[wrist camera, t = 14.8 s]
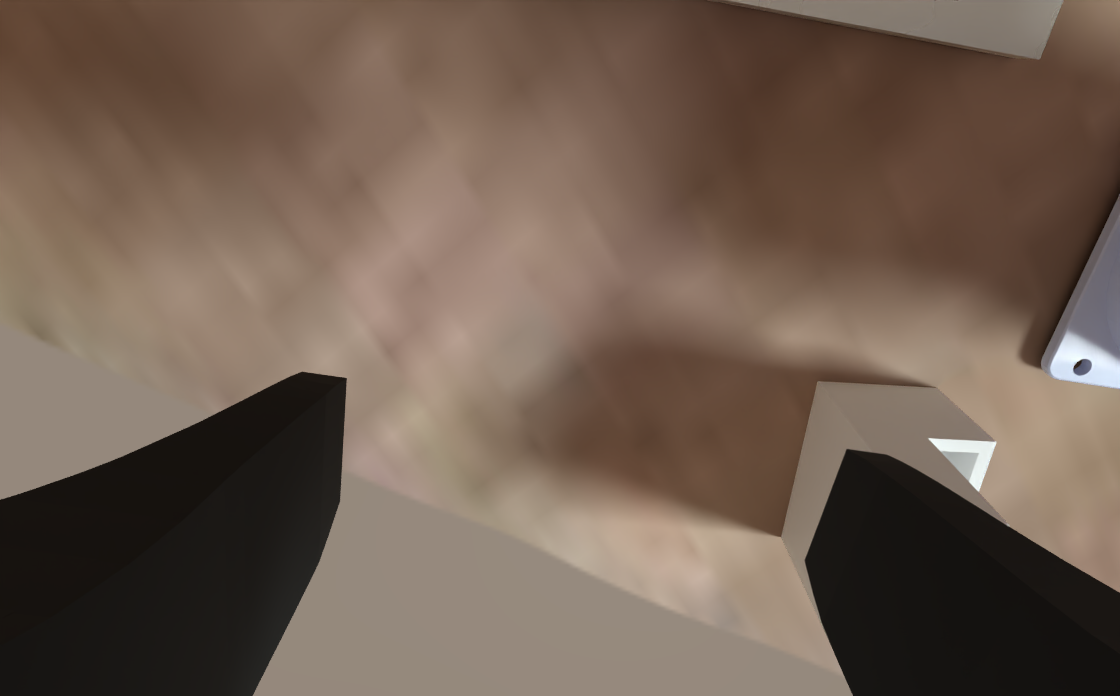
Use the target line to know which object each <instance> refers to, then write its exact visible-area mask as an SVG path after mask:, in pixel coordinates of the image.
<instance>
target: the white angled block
mask: <svg viewBox="0 0 1120 696" xmlns="http://www.w3.org/2000/svg"><path fill="white" fill-rule="evenodd" d="M995 445H996V441H995V440H994V439H993V438H992V437H991V436H990V435H988V434H987V433H986V432H985V431H984V430H983V429H982V428H981V427H980V426H979V425H977V424H976V423H975V422H974V421H973V420H972V419H971V418H970V417H969V416H968V415H966V414H965V413H964V412H963V411H962V410H961V409H960V408H959V407H958V406H957V405H955V404H954V403H953V402H952V401H951V400H950V399H949V398H948V397H947V396H946V395H944V394H943V393H942V392H941V391H940V390H939V389H938V388H931V387H913V386H896V385H878V384H860V383H842V382H824V381H818V382H817V386H816V390H815V394H814V399H813V403H812V407H811V412H810V416H809V420H808V424H807V429H806V433H805V437H804V441H803V446H802V450H801V454H800V459H799V463H798V467H797V471H796V476H795V480H794V484H793V489H792V493H791V497H790V501H789V506H788V510H787V514H786V518H785V523H784V527H783V531H782V536H781V538H782V540H783V543H784V545H785V547H786V549H787V551H788V553H789V556H790V558H791V560H792V562H793V564H794V566H795V569H796V571H797V573H798V575H799V577H800V579H801V582H802V584H803V586H804V588H805V590H806V592H807V595H808V597H809V599H810V601H811V603H812V605H813V608H814V610H815V612H816V614H817V616H818V618H819V621H820V623H821V625H822V622H821V619H820V616H819V612H818V609H817V606H816V602H815V599H814V596H813V592H812V588H811V584H810V580H809V576H808V572H807V569H806V565H805V561H804V560H805V558H806V555H807V553H808V550H809V547H810V545H811V542H812V539H813V537H814V534H815V531H816V529H817V526H818V523H819V521H820V518H821V515H822V513H823V510H824V507H825V505H826V502H827V499H828V497H829V494H830V491H831V489H832V486H833V484H834V481H835V478H836V476H837V473H838V470H839V468H840V465H841V462H842V460H843V457H844V454H845V452H846V449H851V450H859V451H866V452H873V453H880V454H887V455H889V456H891V457H893V458H896V459H898V460H900V461H902V462H904V463H906V464H908V465H909V466H911V467H913V468H915V469H917V470H918V471H920V472H922V473H924V474H925V475H927V476H929V477H930V478H932V479H934V480H935V481H937V482H939V483H940V484H942V485H944V486H945V487H947V488H949V489H950V490H952V491H953V492H955V493H956V494H958V495H960V496H961V497H963V498H964V499H966V500H968V501H969V502H971V503H972V504H974V505H976V506H977V507H979V508H980V509H982V510H983V511H985V512H987V513H988V514H990V515H991V516H993V517H995V518H996V519H998V520H999V521H1001V522H1002V523H1004V524H1006V525H1007V526H1009V524H1008V523H1007V522H1006V521H1005V520H1004V519H1003V518H1002V516H1001V515H1000V514H999V513H998V512H997V511H996V510H995V509H994V508H993V507H992V506H991V505H990V504H989V503H988V502H987V500H986V499H985V498H984V497H983V496H982V495H981V494H980V493H979V490H980V487H981V484H982V481H983V478H984V476H985V473H986V470H987V467H988V464H989V462H990V459H991V456H992V453H993V450H994V448H995ZM822 627H823V625H822ZM823 629H824V627H823ZM824 632H825V630H824ZM825 634H826V632H825ZM826 636H827V635H826ZM827 638H828V637H827ZM828 640H829V639H828ZM830 645H831V644H830ZM831 647H832V646H831Z"/></svg>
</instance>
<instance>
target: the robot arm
mask: <svg viewBox="0 0 1120 696" xmlns="http://www.w3.org/2000/svg"><path fill="white" fill-rule="evenodd" d="M1082 359H1083V360H1082ZM1080 360H1082V363H1081V365H1080V366H1079V367H1077V368H1076V369H1073V367H1074V365H1075V364H1076V363H1077V362H1078V361H1080ZM1041 367H1042V370H1043V371H1044V372H1045V373H1046V374H1048V375H1049V376H1051V377H1052V378H1055V379H1057V380H1064V381H1070V382H1077V383H1083V384H1090V385H1097V386H1103V387H1110V388H1116V389H1120V195H1119V197H1118V199H1117V201H1116V203H1115V205H1114V207H1113V209H1112V212H1111V214H1110V216H1109V218H1108V220H1107V222H1106V224H1105V226H1104V228H1103V231H1102V233H1101V235H1100V237H1099V239H1098V241H1097V243H1096V245H1095V247H1094V250H1093V252H1092V254H1091V256H1090V258H1089V260H1088V262H1087V264H1086V266H1085V269H1084V271H1083V273H1082V275H1081V277H1080V279H1079V281H1078V283H1077V285H1076V287H1075V290H1074V292H1073V294H1072V296H1071V298H1070V300H1069V302H1068V304H1067V306H1066V309H1065V311H1064V313H1063V315H1062V317H1061V319H1060V321H1059V323H1058V325H1057V328H1056V330H1055V332H1054V334H1053V336H1052V338H1051V340H1050V342H1049V344H1048V346H1047V349H1046V351H1045V353H1044V355H1043V357H1042V361H1041ZM346 381H347V378H342V377H335V376H328V375H321V374H314V373H307V372H300V373H298V374H295V375H293V376H290V377H288V378H286V379H284V380H282V381H280V382H278V383H276V384H274V385H272V386H270V387H268V388H266V389H264V390H262V391H260V392H258V393H256V394H254V395H252V396H250V397H248V398H246V399H244V400H243V401H241V402H239V403H237V404H235V405H233V406H231V407H229V408H227V409H225V410H223V411H221V412H219V413H217V414H215V415H213V416H211V417H209V418H207V419H205V420H203V421H201V422H199V423H196V424H194V425H192V426H190V427H188V428H186V429H183V430H181V431H179V432H177V433H174V434H172V435H170V436H168V437H165V438H163V439H161V440H159V441H156V442H154V443H152V444H150V445H148V446H145V447H143V448H141V449H138V450H136V451H134V452H132V453H129V454H127V455H125V456H123V457H120V458H118V459H115V460H113V461H110V462H108V463H105V464H103V465H100V466H97V467H95V468H92V469H89V470H87V471H84V472H81V473H79V474H76V475H73V476H70V477H67V478H65V479H62V480H59V481H56V482H53V483H50V484H47V485H45V486H42V487H39V488H36V489H33V490H30V491H27V492H24V493H21V494H18V495H15V496H11V497H8V498H5V499H1V500H0V696H253V694H254V692H255V690H256V688H257V686H258V684H259V682H260V680H261V678H262V676H263V674H264V672H265V670H266V668H267V666H268V664H269V661H270V660H271V658H272V656H273V654H274V652H275V650H276V648H277V646H278V644H279V642H280V640H281V638H282V636H283V634H284V632H285V630H286V628H287V626H288V624H289V622H290V620H291V618H292V616H293V614H294V612H295V610H296V608H297V606H298V604H299V602H300V600H301V598H302V596H303V594H304V592H305V590H306V588H307V586H308V584H309V582H310V580H311V578H312V576H313V574H314V572H315V569H316V567H317V565H318V563H319V561H320V558H321V555H322V552H323V549H324V547H325V544H326V541H327V538H328V535H329V532H330V529H331V526H332V523H333V520H334V517H335V514H336V511H337V508H338V505H339V502H340V490H341V472H342V454H343V436H344V418H345V399H346ZM804 561H805V565H806V569H807V572H808V576H809V580H810V584H811V588H812V592H813V596H814V599H815V602H816V606H817V609H818V612H819V616H820V619H821V622H822V625H823V627H824V630H825V632H826V635H827V637H828V639H829V642H830V644H831V646H832V649H833V651H834V653H835V656H836V658H837V660H838V663H839V665H840V667H841V669H842V672H843V674H844V676H845V679H846V681H847V683H848V685H849V688H850V690H851V692H852V694H853V696H1120V593H1119V592H1117V591H1116V590H1114V589H1112V588H1110V587H1109V586H1107V585H1105V584H1104V583H1102V582H1100V581H1098V580H1097V579H1095V578H1093V577H1092V576H1090V575H1088V574H1086V573H1085V572H1083V571H1081V570H1079V569H1078V568H1076V567H1074V566H1073V565H1071V564H1069V563H1067V562H1066V561H1064V560H1062V559H1061V558H1059V557H1057V556H1056V555H1054V554H1053V553H1051V552H1049V551H1048V550H1046V549H1044V548H1043V547H1041V546H1039V545H1038V544H1036V543H1034V542H1033V541H1031V540H1030V539H1028V538H1026V537H1025V536H1023V535H1022V534H1020V533H1018V532H1017V531H1015V530H1014V529H1012V528H1010V527H1009V526H1007V525H1006V524H1004V523H1002V522H1001V521H999V520H998V519H996V518H995V517H993V516H991V515H990V514H988V513H987V512H985V511H983V510H982V509H980V508H979V507H977V506H976V505H974V504H972V503H971V502H969V501H968V500H966V499H964V498H963V497H961V496H960V495H958V494H956V493H955V492H953V491H952V490H950V489H949V488H947V487H945V486H944V485H942V484H940V483H939V482H937V481H935V480H934V479H932V478H930V477H929V476H927V475H925V474H924V473H922V472H920V471H918V470H917V469H915V468H913V467H911V466H909V465H908V464H906V463H904V462H902V461H900V460H898V459H896V458H893V457H891V456H889V455H887V454H880V453H873V452H866V451H859V450H851V449H846V452H845V454H844V457H843V460H842V462H841V465H840V468H839V470H838V473H837V476H836V478H835V481H834V484H833V486H832V489H831V491H830V494H829V497H828V499H827V502H826V505H825V507H824V510H823V513H822V515H821V518H820V521H819V523H818V526H817V529H816V531H815V534H814V537H813V539H812V542H811V545H810V547H809V550H808V553H807V555H806V558H805V560H804Z"/></svg>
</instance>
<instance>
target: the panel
mask: <svg viewBox="0 0 1120 696" xmlns="http://www.w3.org/2000/svg"><path fill="white" fill-rule="evenodd" d="M709 1H714V2H719V3H724V4H730V5H735V6H740V7H746V8H751V9H756V10H761V11H767V12H772V13H777V14H783V15H788V16H793V17H798V18H804V19H809V20H814V21H820V22H825V23H830V24H835V25H841V26H846V27H851V28H857V29H862V30H867V31H872V32H878V33H883V34H888V35H894V36H899V37H904V38H910V39H915V40H920V41H925V42H931V43H936V44H941V45H947V46H952V47H957V48H962V49H968V50H973V51H978V52H984V53H989V54H994V55H999V56H1005V57H1010V58H1017V59H1038V60H1040V58H1041V55H1042V53H1043V50H1044V48H1045V45H1046V43H1047V40H1048V38H1049V35H1050V33H1051V30H1052V28H1053V25H1054V23H1055V20H1056V18H1057V15H1058V13H1059V10H1060V8H1061V5H1062V3H1063V0H709Z"/></svg>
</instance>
